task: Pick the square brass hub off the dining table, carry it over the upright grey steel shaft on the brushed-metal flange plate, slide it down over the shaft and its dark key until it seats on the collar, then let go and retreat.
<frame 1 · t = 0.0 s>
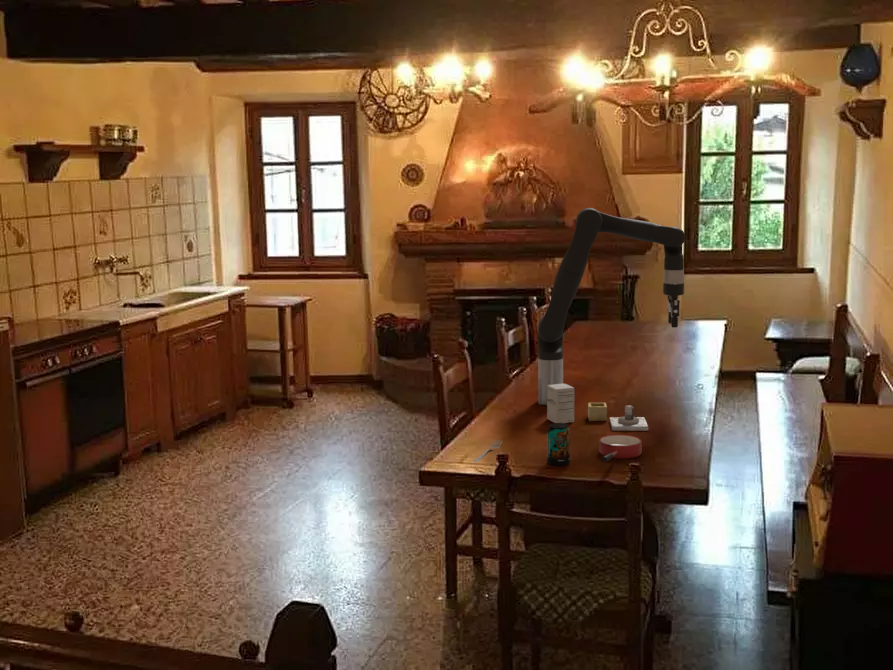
hand: (672, 325, 378), 29 cm above the table, fingers open, 8 cm apart
hub: (597, 418, 363), on the table
supplement box: (560, 421, 361), on the table
fork: (485, 455, 324), on the table
shaft stand: (628, 425, 352), on the table
frying pan: (617, 462, 313), on the table
beverage can: (558, 464, 312), on the table
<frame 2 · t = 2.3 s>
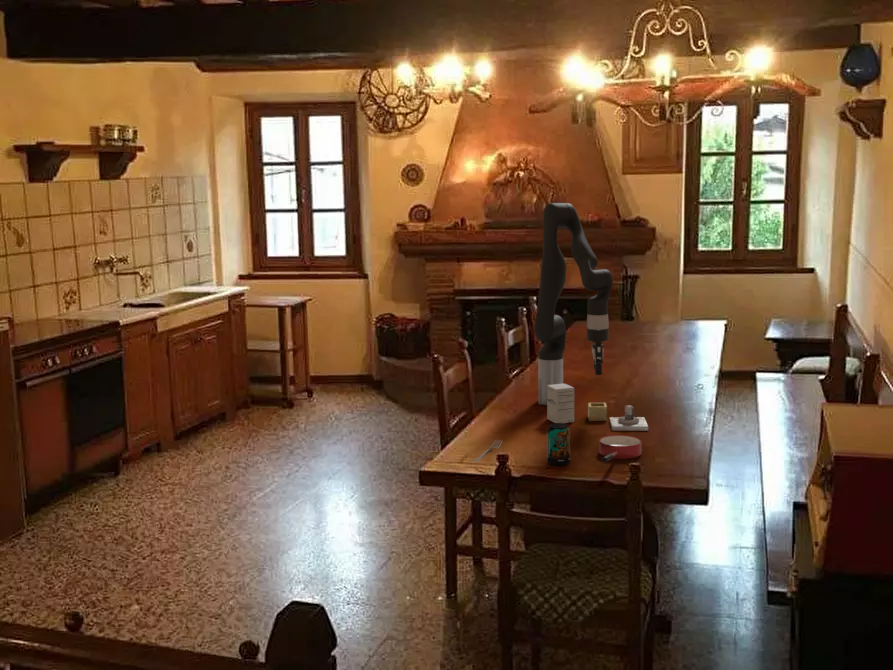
hand: (597, 372, 360), 17 cm above the table, fingers open, 8 cm apart
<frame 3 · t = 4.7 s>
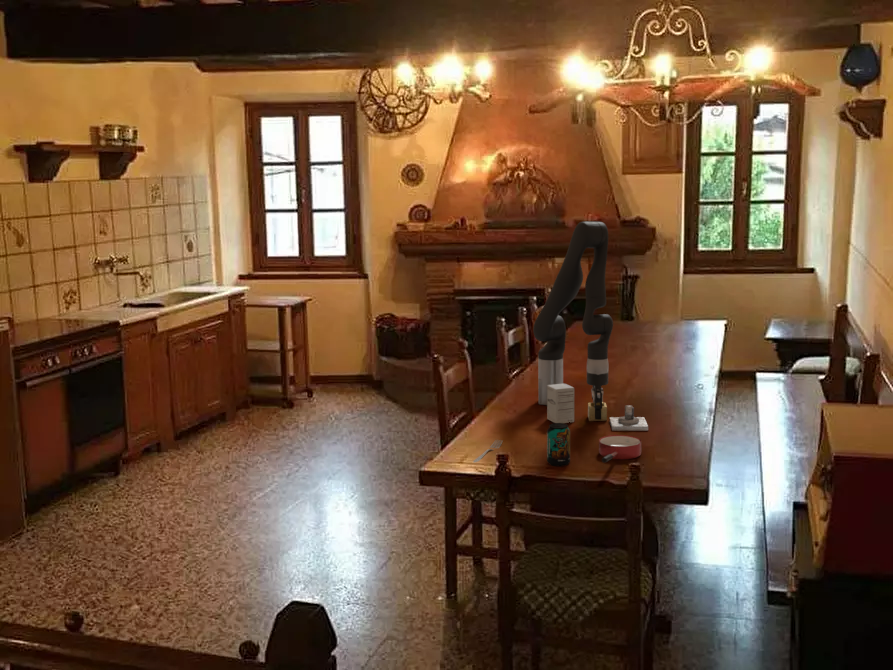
hand: (597, 416, 363), 1 cm above the table, fingers closed on hub, 6 cm apart
hub: (597, 418, 363), on the table, touching gripper
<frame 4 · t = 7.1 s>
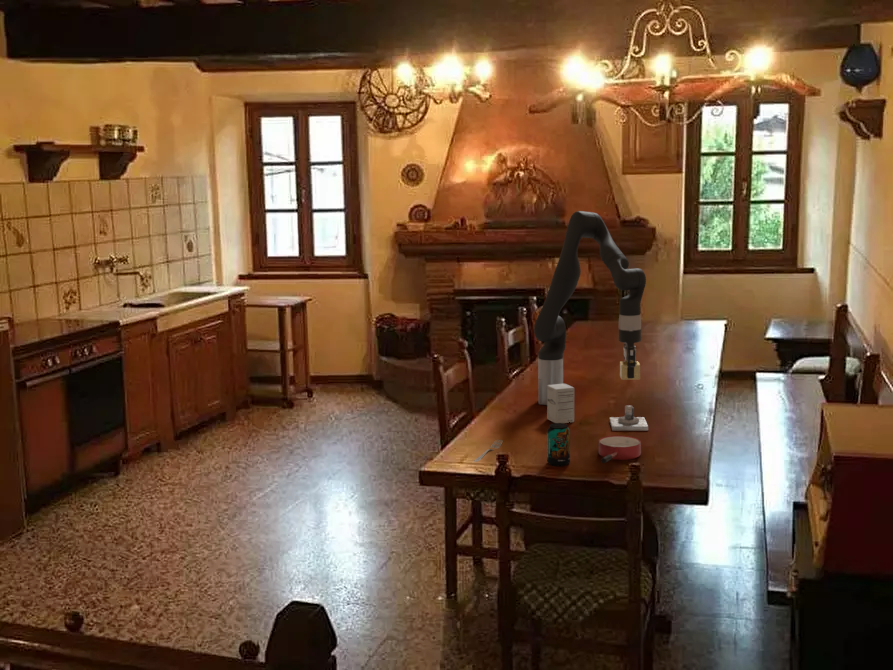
hand: (629, 375, 349), 18 cm above the table, fingers closed on hub, 6 cm apart
hub: (629, 377, 349), point 17 cm above the table, touching gripper
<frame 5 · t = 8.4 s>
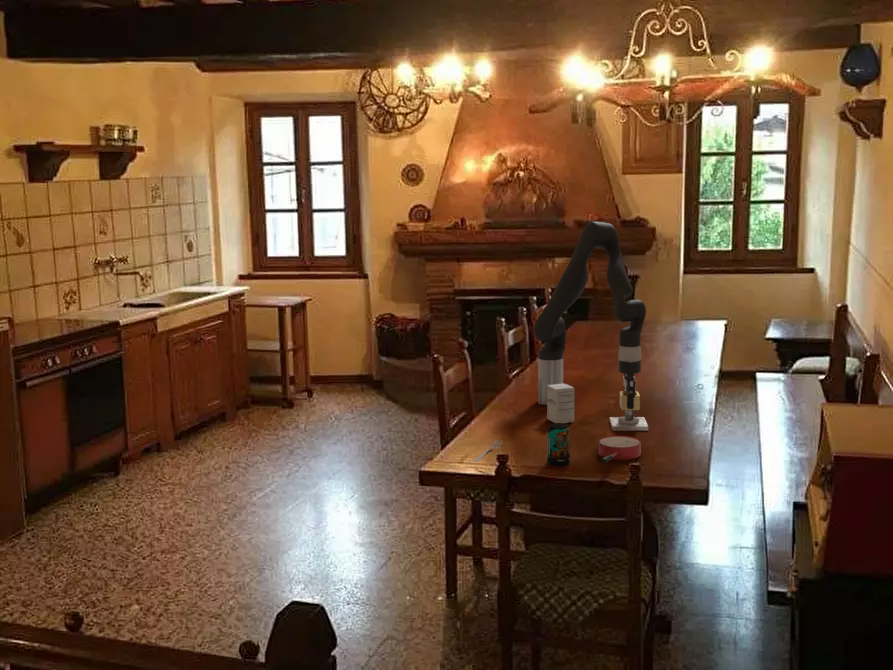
hand: (629, 406, 351), 7 cm above the table, fingers closed on hub, 6 cm apart
hub: (629, 407, 351), point 6 cm above the table, touching gripper
when the fingers open (4 cm above the table, at t = 9.5 s): hub stays where it is, resting on shaft stand.
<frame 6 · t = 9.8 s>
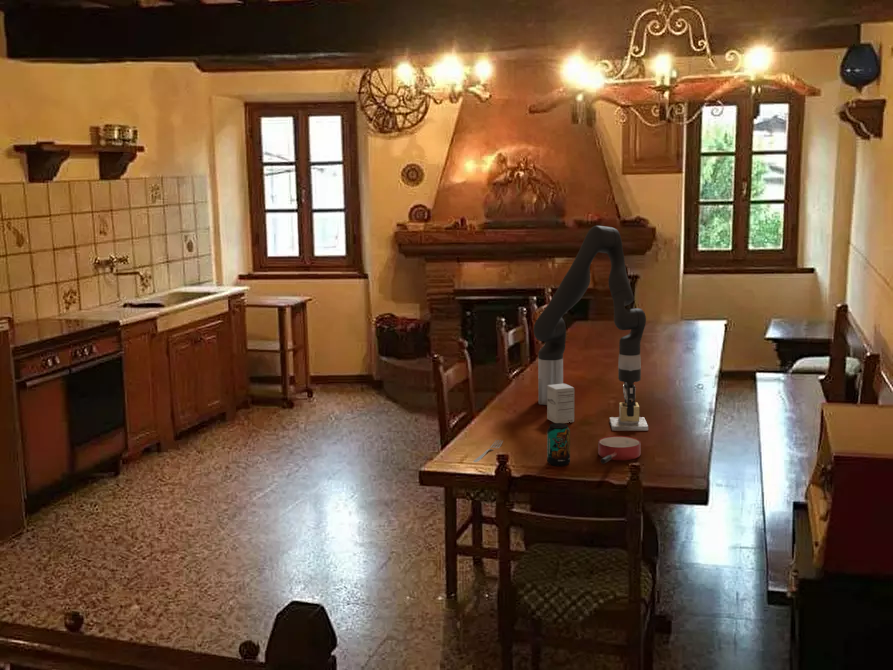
hand: (629, 413, 352), 5 cm above the table, fingers open, 8 cm apart
hub: (629, 418, 352), point 2 cm above the table, touching shaft stand
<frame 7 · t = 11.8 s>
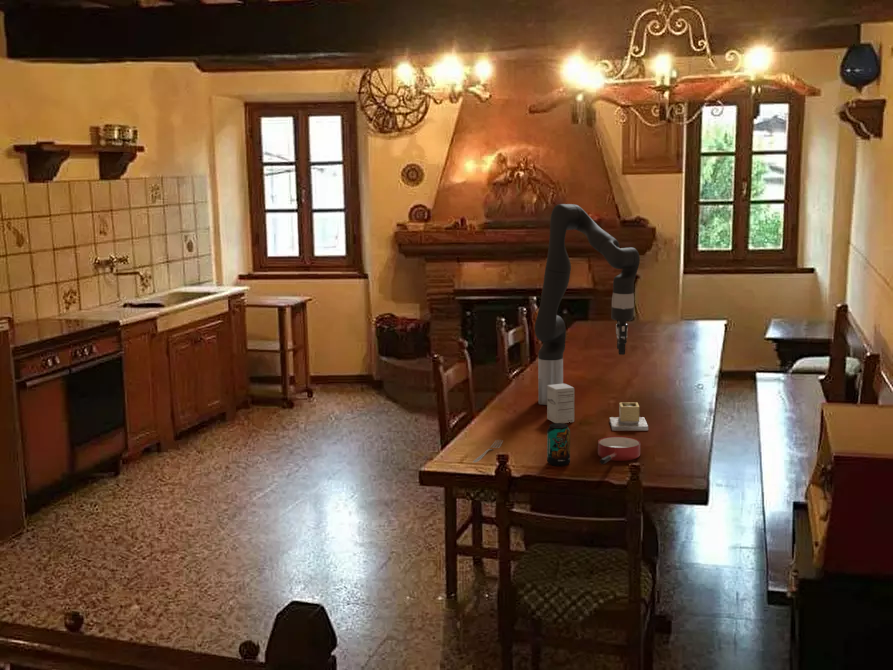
hand: (620, 351, 356), 25 cm above the table, fingers open, 8 cm apart
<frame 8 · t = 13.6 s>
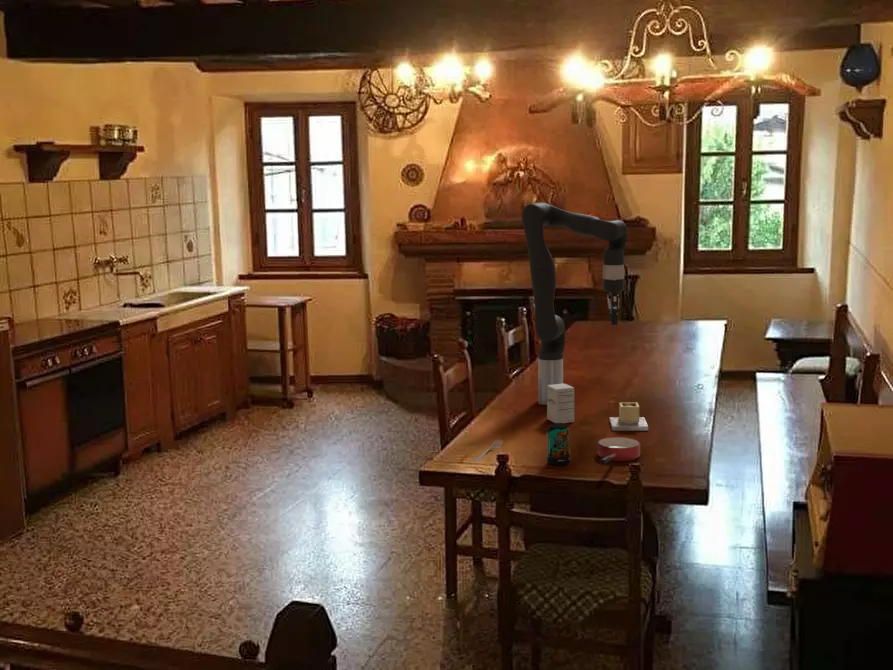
hand: (613, 322, 365), 33 cm above the table, fingers open, 8 cm apart
at the end: hub 0.1 cm off-centre on the shaft stand, point 2.5 cm above the shaft stand's base; hub tilted 0°; the gripper is holding nothing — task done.
